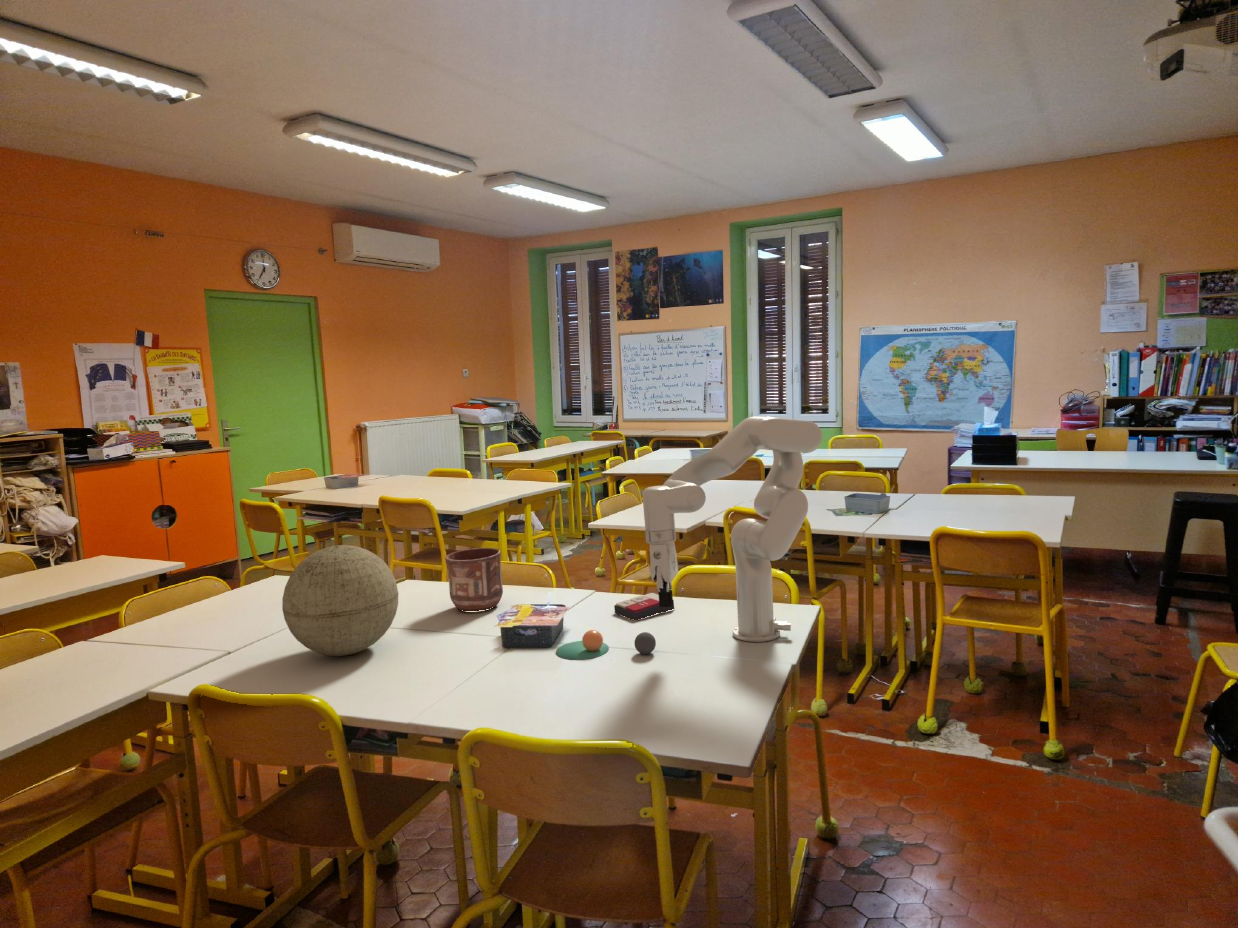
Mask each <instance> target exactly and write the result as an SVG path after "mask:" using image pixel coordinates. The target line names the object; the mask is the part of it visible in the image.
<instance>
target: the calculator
mask: <svg viewBox="0 0 1238 928" xmlns="http://www.w3.org/2000/svg"><path fill="white" fill-rule="evenodd" d="M674 601H675V600H674V599H673V605H672V606H671V607H660V606H659V594H657V593H654V592H649V593H646V594H644V595H639V596H635V597H632V598H629V599H626V600H623V601H619V602H617V603H615V604H614V605H613V606H614V607H613V608H614V614H615V613H616V615H619V616H620V615H622V616H621V617H623V616H625V617H624V618H626V617H627V618H626V619H628V618H630V619H629V620H631V619H634V620H638V619H641V618H645V617H647V616H651V615H654V614H656V613H661V612H666V611H668V610H672V609H674V610H675V603H674ZM661 614H662V613H661ZM645 619H646V618H645ZM634 620H633V621H634ZM638 621H639V620H638Z"/></svg>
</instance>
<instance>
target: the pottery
mask: <svg viewBox="0 0 1238 928" xmlns="http://www.w3.org/2000/svg"><path fill="white" fill-rule="evenodd" d="M501 558H502V555H501V550H499V549H497V548H492V547H476V548H475V547H474V548H468V549H467V548H466V549H462V550H457V551H453V552H451V553H449V554H447V555H446V556H445V557H444V559H445V564H446V569H447V575H448V585H449V587H448V588H449V590H448V591H449V598H450V600H451V602H452V604H453V605H454V606H455V608H457V609H458V611H460V610H463V611H479V610H486V609H490V608H492V607H494V606H496V605H497V606H498V604H499V603H500V602H501V600H502V597H503V593H504V590H503V588H504V587H503V577H502V565H501V564H502V563H501V562H502V560H501ZM497 606H496V607H497Z"/></svg>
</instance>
